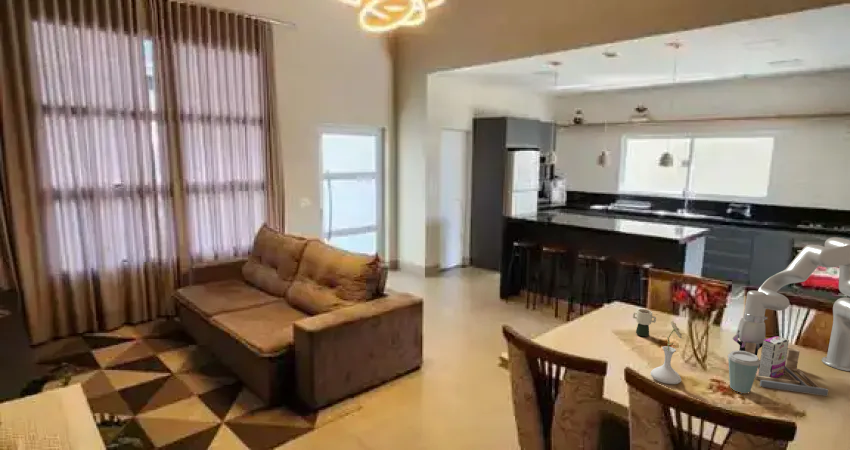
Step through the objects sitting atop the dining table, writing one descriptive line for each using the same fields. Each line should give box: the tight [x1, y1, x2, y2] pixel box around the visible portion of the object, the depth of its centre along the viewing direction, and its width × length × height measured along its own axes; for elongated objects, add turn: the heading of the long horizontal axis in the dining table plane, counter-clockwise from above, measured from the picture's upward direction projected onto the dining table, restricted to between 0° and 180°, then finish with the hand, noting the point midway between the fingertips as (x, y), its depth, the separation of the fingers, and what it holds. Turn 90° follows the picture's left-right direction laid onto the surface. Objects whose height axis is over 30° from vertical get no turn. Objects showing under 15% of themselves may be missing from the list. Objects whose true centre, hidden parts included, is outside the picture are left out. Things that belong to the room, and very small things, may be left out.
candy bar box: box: [757, 335, 790, 378], centre depth 196 cm, size 11×5×16 cm, turn 117°
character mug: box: [632, 308, 657, 337], centre depth 237 cm, size 11×7×13 cm, turn 54°
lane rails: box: [759, 366, 829, 397], centre depth 194 cm, size 23×21×2 cm
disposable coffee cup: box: [727, 350, 760, 394], centre depth 183 cm, size 11×11×15 cm
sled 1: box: [744, 342, 800, 385], centre depth 201 cm, size 16×22×10 cm
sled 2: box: [785, 347, 822, 388], centre depth 195 cm, size 5×22×9 cm, turn 165°
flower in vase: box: [650, 320, 683, 385], centre depth 189 cm, size 13×11×25 cm
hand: (747, 355), depth 212 cm, fingers closed on sled 1, 4 cm apart
